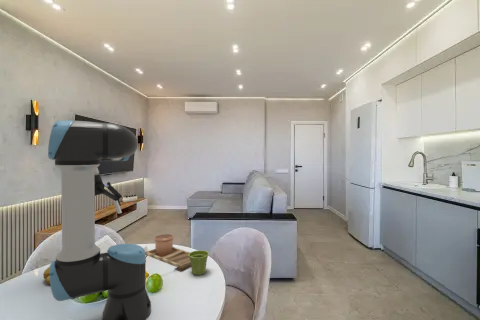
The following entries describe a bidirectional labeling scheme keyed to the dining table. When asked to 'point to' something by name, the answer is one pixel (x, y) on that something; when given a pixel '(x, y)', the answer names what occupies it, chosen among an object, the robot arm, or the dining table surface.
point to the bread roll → (47, 275)
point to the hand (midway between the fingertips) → (106, 218)
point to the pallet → (173, 258)
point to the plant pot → (198, 261)
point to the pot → (164, 244)
